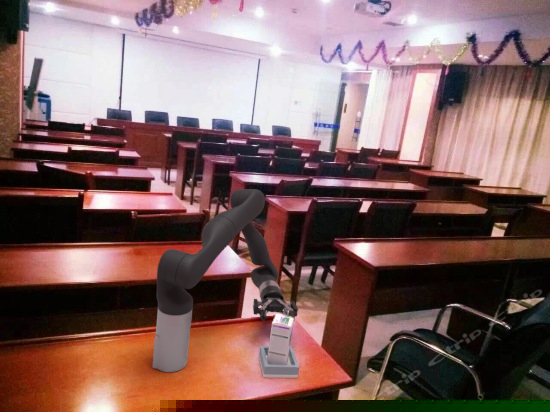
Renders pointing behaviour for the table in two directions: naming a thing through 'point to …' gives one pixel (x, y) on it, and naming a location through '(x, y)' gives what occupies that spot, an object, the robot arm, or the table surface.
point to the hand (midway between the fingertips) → (278, 319)
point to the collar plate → (278, 370)
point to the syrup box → (280, 340)
